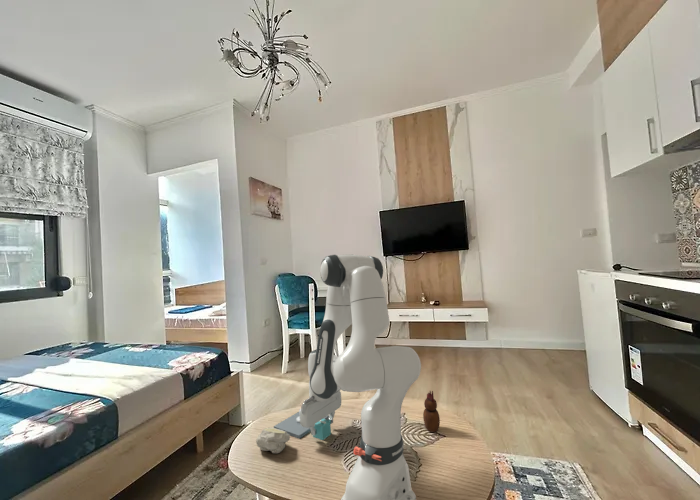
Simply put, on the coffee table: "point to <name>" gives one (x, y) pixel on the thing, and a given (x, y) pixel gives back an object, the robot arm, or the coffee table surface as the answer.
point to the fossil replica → (272, 440)
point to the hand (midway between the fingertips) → (322, 428)
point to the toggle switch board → (294, 426)
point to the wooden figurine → (431, 414)
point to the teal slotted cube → (322, 429)
